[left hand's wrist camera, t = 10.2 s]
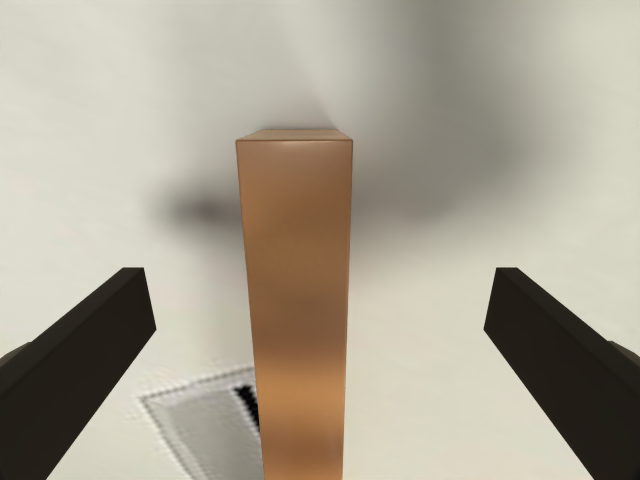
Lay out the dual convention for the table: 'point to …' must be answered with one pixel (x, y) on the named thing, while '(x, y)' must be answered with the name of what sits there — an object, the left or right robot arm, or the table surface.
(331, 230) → the post
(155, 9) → the table surface
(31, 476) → the left robot arm
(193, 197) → the table surface
